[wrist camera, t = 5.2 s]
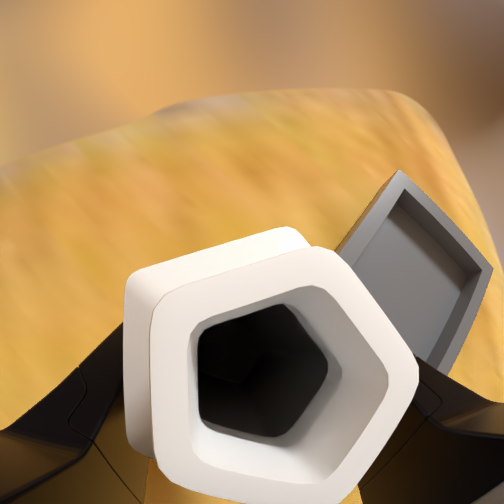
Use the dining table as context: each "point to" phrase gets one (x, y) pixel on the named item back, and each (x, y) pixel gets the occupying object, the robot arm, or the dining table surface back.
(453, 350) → the gray tray
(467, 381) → the dining table surface
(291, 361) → the perfume bottle
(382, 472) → the robot arm
